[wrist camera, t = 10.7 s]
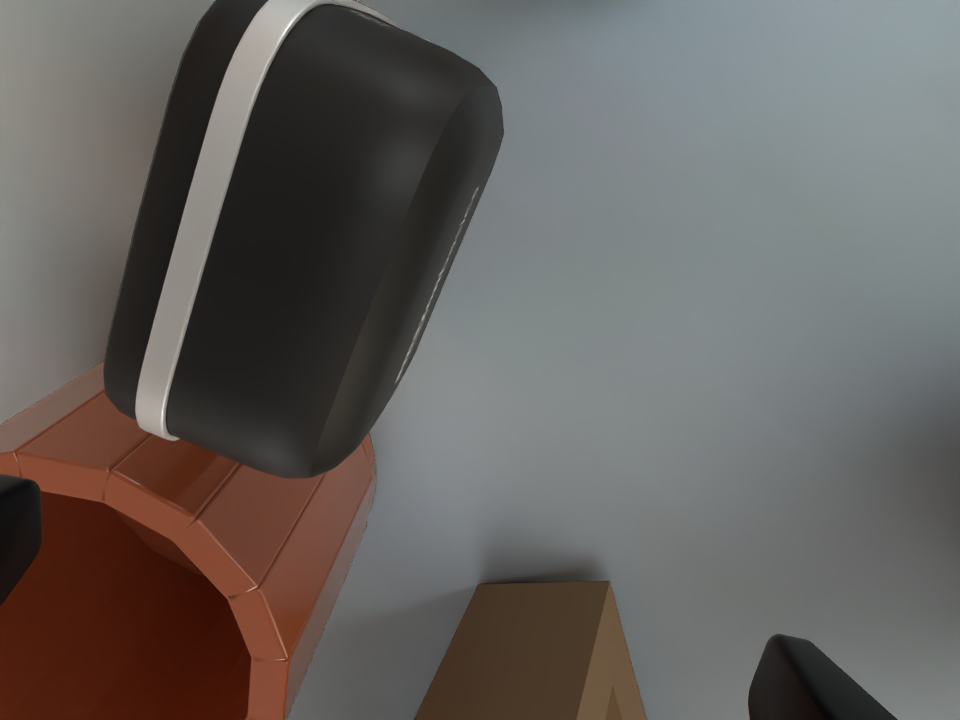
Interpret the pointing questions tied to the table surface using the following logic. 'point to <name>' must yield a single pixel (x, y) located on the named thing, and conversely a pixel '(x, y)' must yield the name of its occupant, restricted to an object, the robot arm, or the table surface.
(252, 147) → the battery charger
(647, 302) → the table surface
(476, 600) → the photo frame
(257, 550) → the terracotta pot
